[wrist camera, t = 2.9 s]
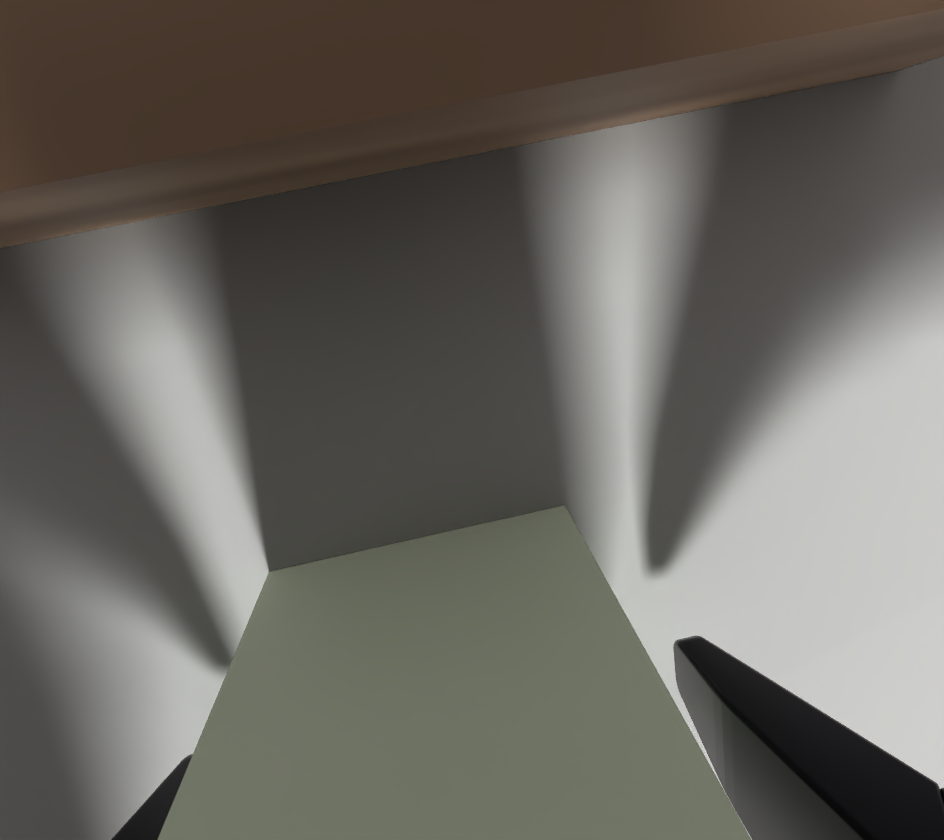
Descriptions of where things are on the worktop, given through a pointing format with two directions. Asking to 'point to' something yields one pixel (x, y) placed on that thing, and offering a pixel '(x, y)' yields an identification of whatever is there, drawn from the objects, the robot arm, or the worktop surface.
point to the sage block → (448, 704)
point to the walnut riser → (376, 86)
